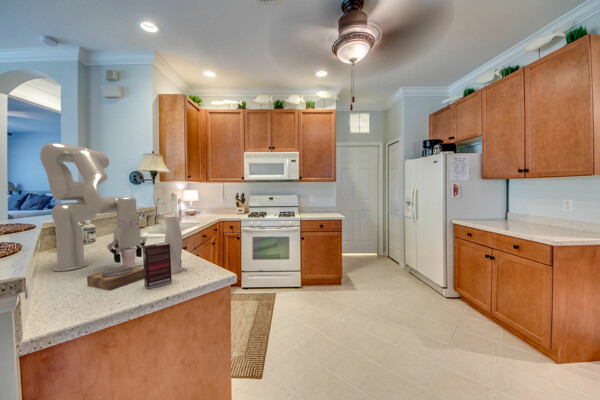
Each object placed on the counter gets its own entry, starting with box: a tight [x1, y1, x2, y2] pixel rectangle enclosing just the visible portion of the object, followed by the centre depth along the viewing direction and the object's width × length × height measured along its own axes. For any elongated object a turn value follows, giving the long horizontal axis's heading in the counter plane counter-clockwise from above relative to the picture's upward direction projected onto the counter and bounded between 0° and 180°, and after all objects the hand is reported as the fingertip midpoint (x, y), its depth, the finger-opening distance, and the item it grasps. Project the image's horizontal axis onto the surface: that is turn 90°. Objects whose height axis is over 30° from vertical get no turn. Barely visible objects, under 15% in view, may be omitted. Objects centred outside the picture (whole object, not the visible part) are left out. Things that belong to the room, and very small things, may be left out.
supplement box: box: [142, 241, 173, 290], centre depth 93 cm, size 9×5×16 cm, turn 134°
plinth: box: [86, 265, 144, 291], centre depth 98 cm, size 14×14×4 cm
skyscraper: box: [163, 210, 188, 275], centre depth 109 cm, size 8×8×28 cm
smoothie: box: [119, 246, 137, 267], centre depth 113 cm, size 6×6×14 cm
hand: (128, 259), depth 113 cm, fingers open, 9 cm apart
